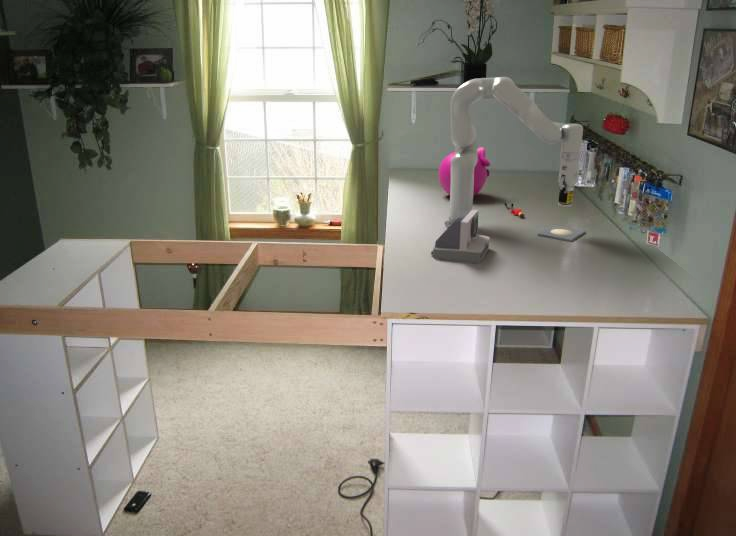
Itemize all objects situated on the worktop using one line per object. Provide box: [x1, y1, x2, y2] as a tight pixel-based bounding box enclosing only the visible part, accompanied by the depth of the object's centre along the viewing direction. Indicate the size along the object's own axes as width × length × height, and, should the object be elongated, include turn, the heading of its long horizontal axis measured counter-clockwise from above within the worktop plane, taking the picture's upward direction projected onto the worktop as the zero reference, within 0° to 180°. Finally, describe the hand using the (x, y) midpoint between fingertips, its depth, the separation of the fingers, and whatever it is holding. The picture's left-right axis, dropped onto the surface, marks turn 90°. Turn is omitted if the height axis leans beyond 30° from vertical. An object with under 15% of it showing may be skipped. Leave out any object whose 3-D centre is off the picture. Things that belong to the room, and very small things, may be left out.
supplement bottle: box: [557, 184, 575, 208], centre depth 263 cm, size 5×5×10 cm
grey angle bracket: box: [430, 209, 491, 264], centre depth 243 cm, size 21×21×15 cm
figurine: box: [438, 146, 491, 197], centre depth 324 cm, size 23×24×25 cm
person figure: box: [504, 202, 525, 219], centre depth 299 cm, size 5×4×18 cm
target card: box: [537, 224, 587, 243], centre depth 269 cm, size 16×14×1 cm
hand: (565, 200), depth 264 cm, fingers closed on supplement bottle, 5 cm apart
